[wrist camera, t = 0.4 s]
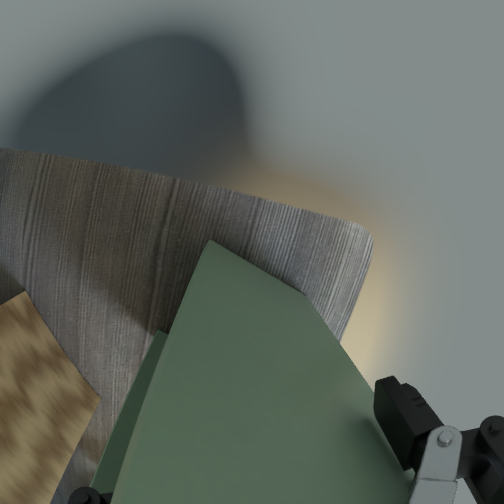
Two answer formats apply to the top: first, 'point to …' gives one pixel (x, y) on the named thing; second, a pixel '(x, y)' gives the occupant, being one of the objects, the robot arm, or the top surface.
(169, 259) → the top surface
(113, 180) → the top surface
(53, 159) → the top surface
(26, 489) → the block
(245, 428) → the tall green cabinet
